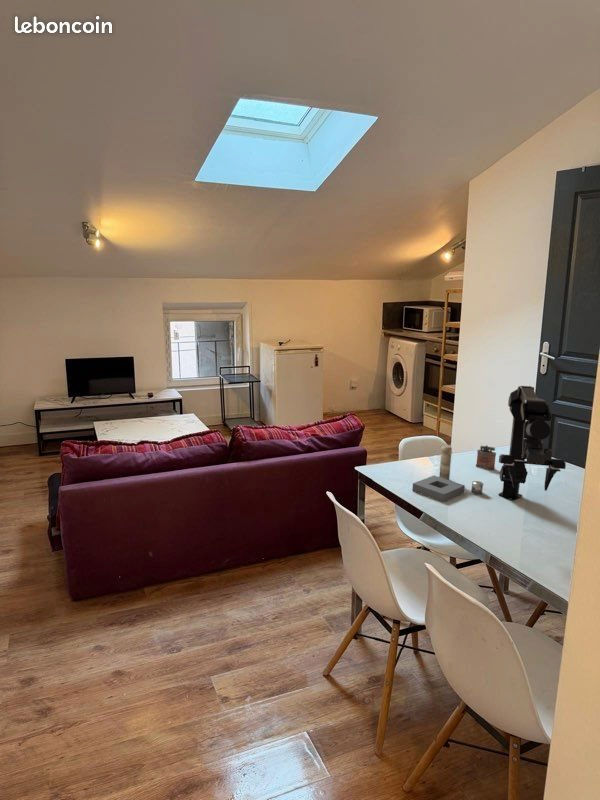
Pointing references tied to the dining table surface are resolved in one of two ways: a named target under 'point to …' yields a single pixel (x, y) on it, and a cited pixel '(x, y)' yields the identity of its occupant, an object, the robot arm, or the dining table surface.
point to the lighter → (486, 458)
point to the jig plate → (438, 488)
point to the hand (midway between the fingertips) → (529, 489)
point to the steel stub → (477, 487)
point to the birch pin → (445, 462)
